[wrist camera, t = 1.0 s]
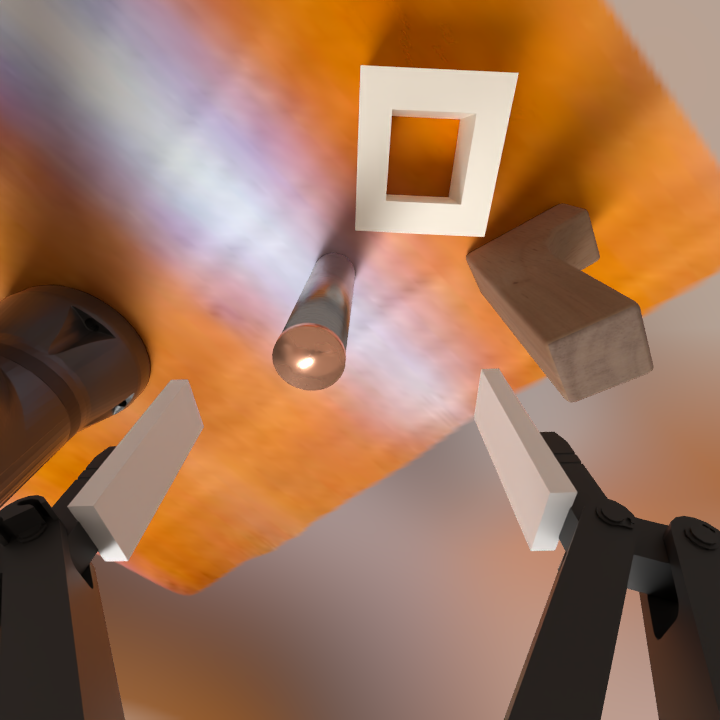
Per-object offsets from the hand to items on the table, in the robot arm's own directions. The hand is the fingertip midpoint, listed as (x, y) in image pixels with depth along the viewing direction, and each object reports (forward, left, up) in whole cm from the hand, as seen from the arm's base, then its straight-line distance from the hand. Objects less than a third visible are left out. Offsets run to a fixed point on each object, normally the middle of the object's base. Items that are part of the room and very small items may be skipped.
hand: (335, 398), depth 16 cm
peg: (-2, -1, -21) cm, 21 cm away
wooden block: (+15, +2, -21) cm, 26 cm away
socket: (+5, +9, -21) cm, 23 cm away
